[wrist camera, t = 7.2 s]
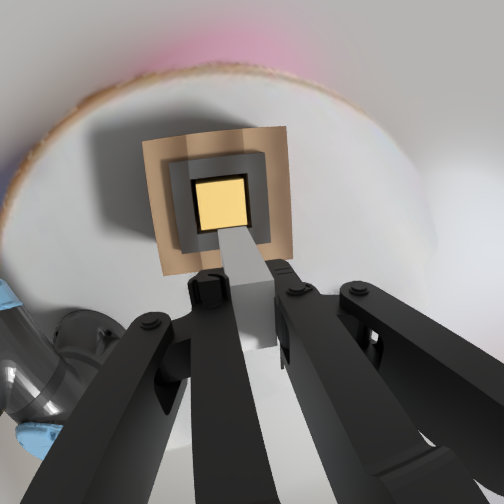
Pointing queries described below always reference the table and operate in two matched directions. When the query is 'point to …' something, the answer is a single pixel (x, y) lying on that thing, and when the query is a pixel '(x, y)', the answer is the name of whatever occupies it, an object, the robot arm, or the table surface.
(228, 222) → the peg
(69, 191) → the table surface
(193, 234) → the socket block
